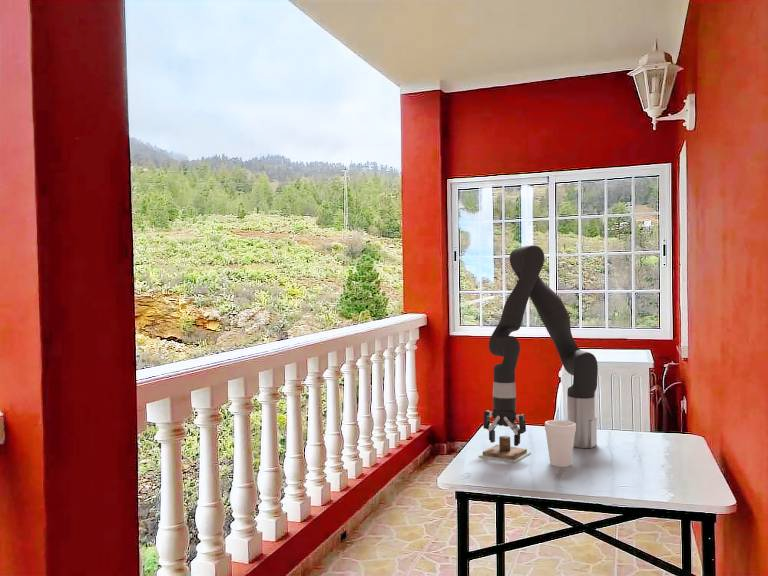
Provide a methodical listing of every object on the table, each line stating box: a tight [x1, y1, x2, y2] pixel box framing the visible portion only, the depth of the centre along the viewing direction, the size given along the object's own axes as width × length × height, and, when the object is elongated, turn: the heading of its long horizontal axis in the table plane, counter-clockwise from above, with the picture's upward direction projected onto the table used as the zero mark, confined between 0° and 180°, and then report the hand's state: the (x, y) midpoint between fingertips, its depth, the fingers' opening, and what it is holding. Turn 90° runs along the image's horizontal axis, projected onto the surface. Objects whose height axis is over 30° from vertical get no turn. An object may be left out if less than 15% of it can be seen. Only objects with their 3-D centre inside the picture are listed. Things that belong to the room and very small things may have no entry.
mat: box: [478, 451, 531, 464], centre depth 221 cm, size 13×13×1 cm
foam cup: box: [544, 419, 576, 468], centre depth 210 cm, size 10×9×13 cm
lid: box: [482, 435, 528, 460], centre depth 221 cm, size 11×11×6 cm
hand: (504, 443), depth 221 cm, fingers open, 8 cm apart
